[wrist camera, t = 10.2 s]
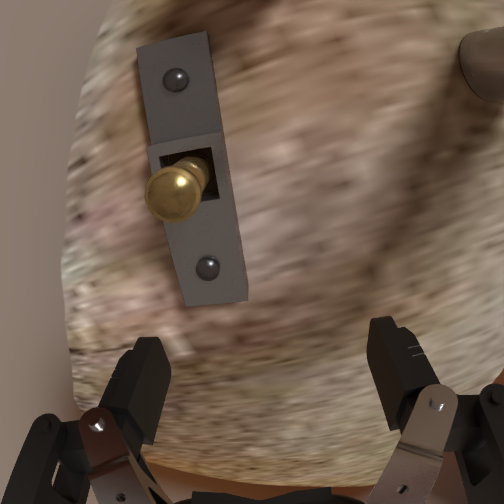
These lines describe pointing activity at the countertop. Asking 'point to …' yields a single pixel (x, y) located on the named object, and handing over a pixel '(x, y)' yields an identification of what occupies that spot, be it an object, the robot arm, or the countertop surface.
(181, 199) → the link pin
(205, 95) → the link plates
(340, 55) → the countertop surface
